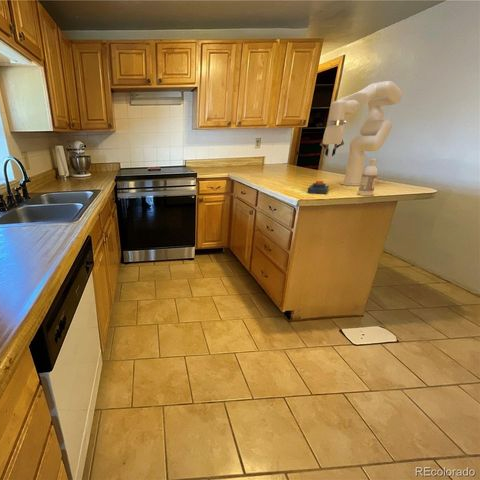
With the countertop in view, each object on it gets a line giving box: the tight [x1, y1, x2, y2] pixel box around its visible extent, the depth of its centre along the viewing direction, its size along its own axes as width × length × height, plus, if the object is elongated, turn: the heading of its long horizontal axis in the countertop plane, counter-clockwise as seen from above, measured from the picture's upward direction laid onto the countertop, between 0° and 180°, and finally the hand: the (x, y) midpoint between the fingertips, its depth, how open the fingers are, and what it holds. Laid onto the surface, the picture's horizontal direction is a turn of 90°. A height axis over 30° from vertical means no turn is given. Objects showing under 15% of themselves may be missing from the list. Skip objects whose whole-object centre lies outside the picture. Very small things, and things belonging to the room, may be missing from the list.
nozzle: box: [315, 180, 324, 184], centre depth 165 cm, size 4×4×2 cm
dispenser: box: [307, 182, 330, 195], centre depth 166 cm, size 13×10×5 cm
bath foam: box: [357, 158, 379, 196], centre depth 151 cm, size 7×7×20 cm
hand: (329, 155), depth 165 cm, fingers closed
